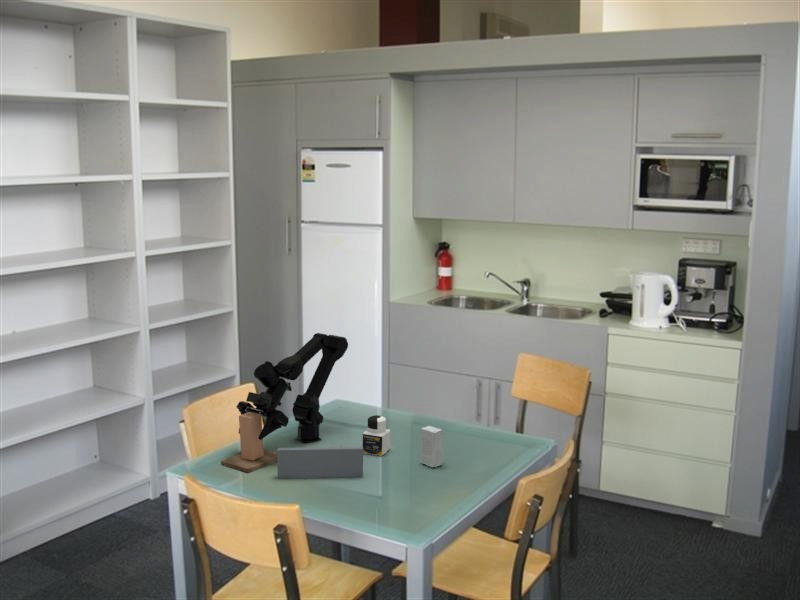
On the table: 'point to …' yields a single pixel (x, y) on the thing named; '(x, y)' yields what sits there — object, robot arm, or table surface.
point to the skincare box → (431, 445)
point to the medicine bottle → (376, 436)
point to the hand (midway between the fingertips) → (249, 436)
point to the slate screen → (320, 462)
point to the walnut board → (250, 462)
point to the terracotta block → (251, 436)
